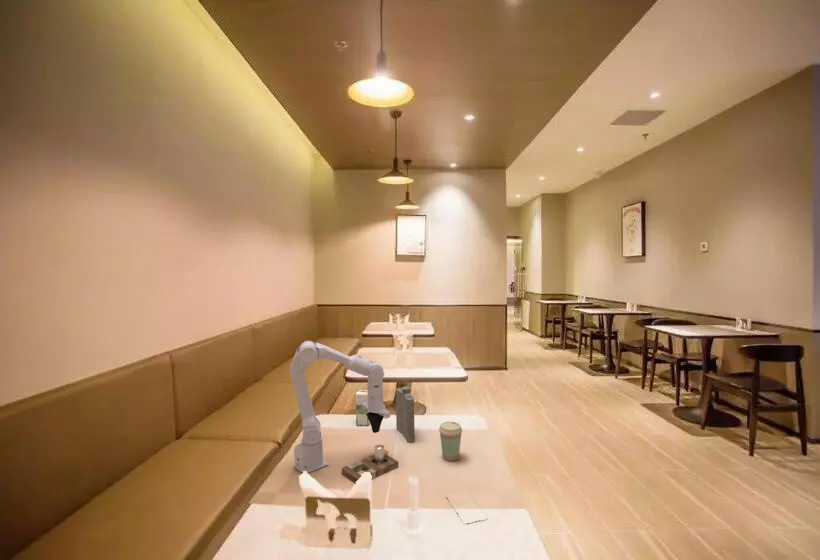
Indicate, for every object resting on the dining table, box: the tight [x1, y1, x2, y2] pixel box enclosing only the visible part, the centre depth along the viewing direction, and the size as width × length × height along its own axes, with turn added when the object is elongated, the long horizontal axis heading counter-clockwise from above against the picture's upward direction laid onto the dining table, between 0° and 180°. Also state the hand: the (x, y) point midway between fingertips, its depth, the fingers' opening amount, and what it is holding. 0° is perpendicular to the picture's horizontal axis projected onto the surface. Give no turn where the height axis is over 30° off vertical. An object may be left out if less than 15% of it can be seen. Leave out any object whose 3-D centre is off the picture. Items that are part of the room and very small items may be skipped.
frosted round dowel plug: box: [374, 444, 385, 465], centre depth 144 cm, size 3×3×7 cm
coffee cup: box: [438, 421, 463, 462], centre depth 149 cm, size 8×8×12 cm
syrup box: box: [355, 389, 371, 427], centre depth 181 cm, size 6×6×14 cm
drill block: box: [341, 453, 399, 484], centre depth 141 cm, size 17×10×2 cm, turn 132°
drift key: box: [374, 448, 389, 457], centre depth 148 cm, size 3×5×2 cm, turn 42°
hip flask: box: [395, 386, 416, 444], centre depth 169 cm, size 16×4×20 cm, turn 21°
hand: (376, 431), depth 150 cm, fingers closed
